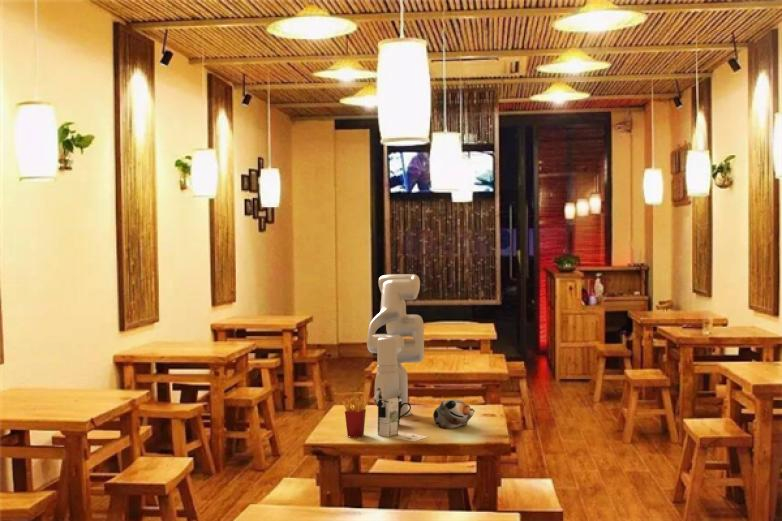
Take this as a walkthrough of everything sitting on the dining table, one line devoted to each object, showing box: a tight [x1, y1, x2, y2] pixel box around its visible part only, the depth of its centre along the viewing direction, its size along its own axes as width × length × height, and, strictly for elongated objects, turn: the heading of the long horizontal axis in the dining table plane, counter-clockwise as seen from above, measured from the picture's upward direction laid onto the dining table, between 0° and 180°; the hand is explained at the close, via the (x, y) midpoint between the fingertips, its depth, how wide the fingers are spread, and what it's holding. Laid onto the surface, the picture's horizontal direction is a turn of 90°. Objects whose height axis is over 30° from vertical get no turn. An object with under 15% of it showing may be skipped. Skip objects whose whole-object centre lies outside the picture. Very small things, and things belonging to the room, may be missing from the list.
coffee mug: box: [398, 399, 412, 426], centre depth 360 cm, size 12×9×10 cm
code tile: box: [395, 433, 428, 442], centre depth 339 cm, size 9×9×1 cm
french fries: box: [342, 395, 367, 438], centre depth 343 cm, size 9×8×15 cm
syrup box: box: [377, 397, 399, 438], centre depth 343 cm, size 6×6×14 cm
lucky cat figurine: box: [432, 398, 475, 430], centre depth 356 cm, size 15×12×14 cm
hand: (387, 415), depth 343 cm, fingers open, 6 cm apart
